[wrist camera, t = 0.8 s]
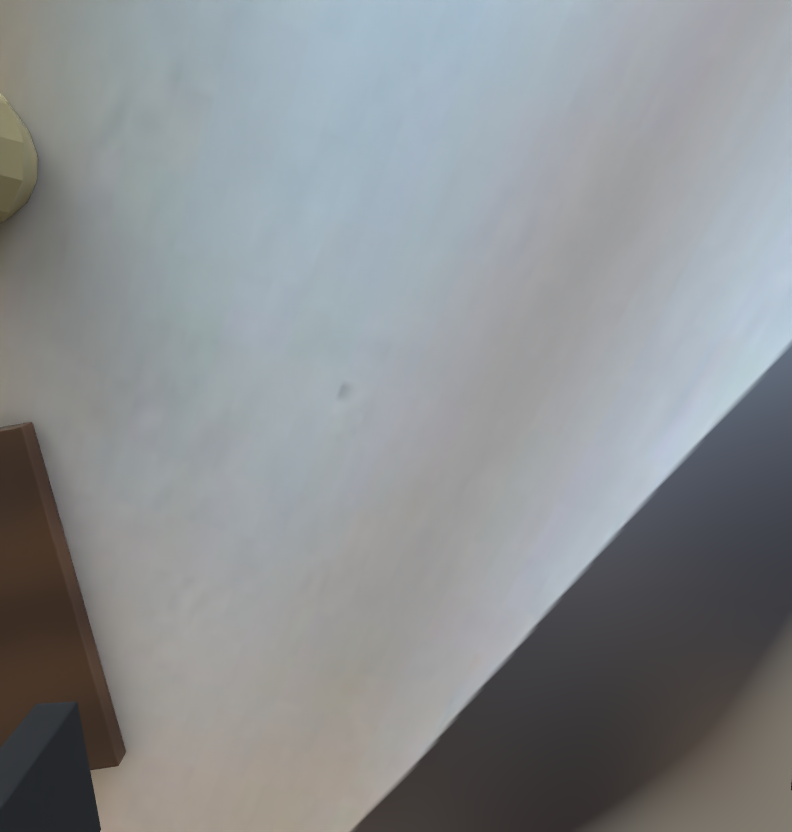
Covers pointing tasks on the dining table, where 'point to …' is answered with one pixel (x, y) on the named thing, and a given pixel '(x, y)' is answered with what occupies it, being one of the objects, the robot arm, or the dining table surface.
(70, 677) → the serving board
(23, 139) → the squeeze bottle
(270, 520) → the dining table surface
